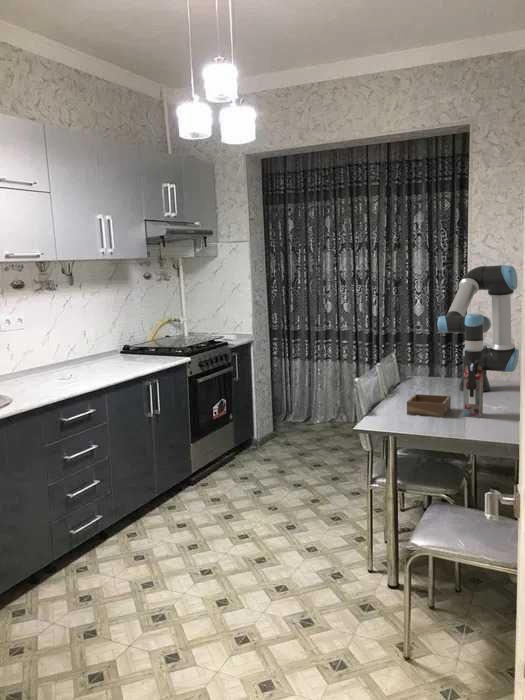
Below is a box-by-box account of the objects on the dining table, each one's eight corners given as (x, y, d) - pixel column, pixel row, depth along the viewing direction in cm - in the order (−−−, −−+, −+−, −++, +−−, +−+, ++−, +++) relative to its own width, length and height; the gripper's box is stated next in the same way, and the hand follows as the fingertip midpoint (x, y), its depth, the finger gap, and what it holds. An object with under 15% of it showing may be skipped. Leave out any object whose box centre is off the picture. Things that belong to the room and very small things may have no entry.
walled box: (415, 406, 277) (415, 394, 276) (450, 409, 270) (450, 396, 269) (406, 414, 263) (406, 401, 262) (443, 417, 256) (443, 404, 255)
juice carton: (479, 418, 253) (479, 367, 250) (463, 416, 257) (463, 366, 253) (482, 414, 259) (483, 365, 255) (467, 412, 262) (467, 364, 259)
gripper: (468, 346, 264) (467, 396, 267) (460, 353, 247) (460, 406, 250) (486, 346, 260) (485, 397, 264) (479, 353, 243) (479, 407, 246)
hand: (473, 401), depth 257 cm, fingers closed on juice carton, 7 cm apart
